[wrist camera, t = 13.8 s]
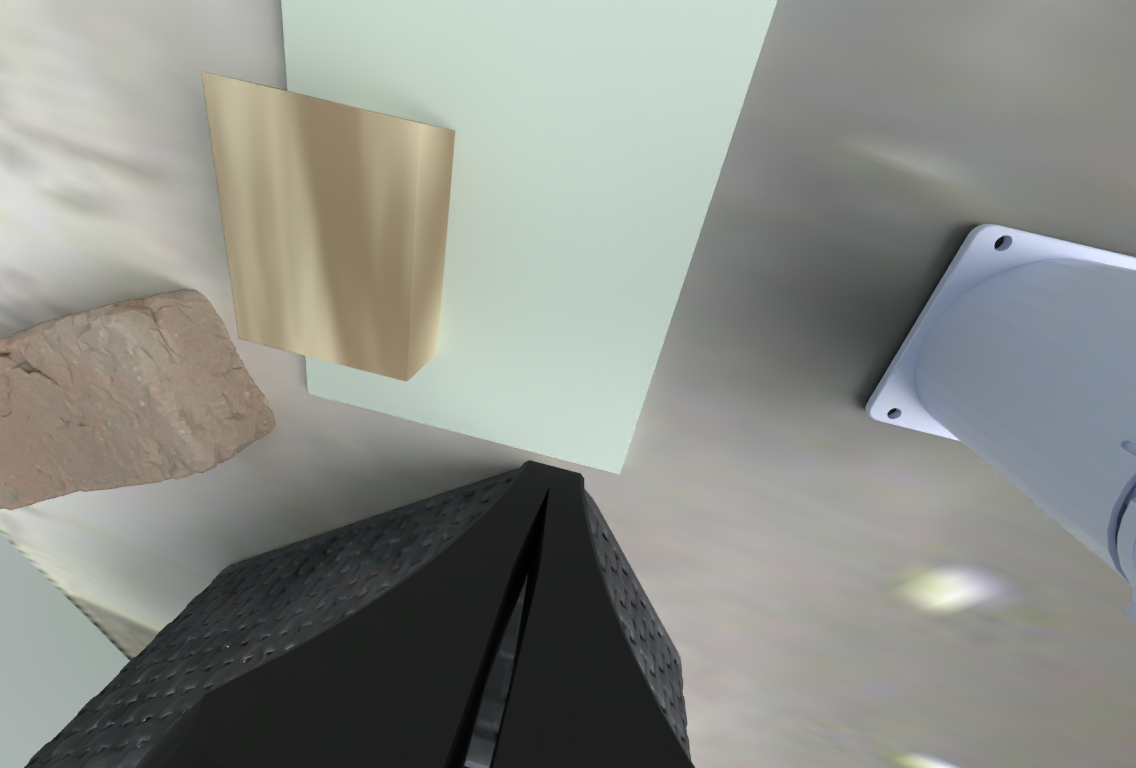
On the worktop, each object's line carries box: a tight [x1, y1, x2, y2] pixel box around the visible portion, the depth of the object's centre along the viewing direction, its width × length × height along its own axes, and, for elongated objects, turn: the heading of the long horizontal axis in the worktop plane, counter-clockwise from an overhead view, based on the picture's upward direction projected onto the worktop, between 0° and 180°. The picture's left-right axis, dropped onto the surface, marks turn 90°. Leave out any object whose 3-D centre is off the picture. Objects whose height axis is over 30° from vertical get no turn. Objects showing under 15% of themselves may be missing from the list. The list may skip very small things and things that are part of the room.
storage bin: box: [24, 470, 691, 768], centre depth 24 cm, size 29×19×13 cm
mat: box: [281, 0, 777, 475], centre depth 18 cm, size 16×20×1 cm
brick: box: [0, 289, 275, 510], centre depth 23 cm, size 17×8×5 cm, turn 106°
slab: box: [202, 72, 455, 382], centre depth 17 cm, size 3×9×7 cm
